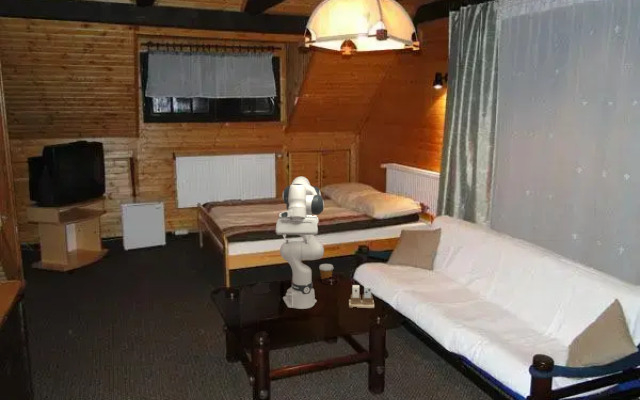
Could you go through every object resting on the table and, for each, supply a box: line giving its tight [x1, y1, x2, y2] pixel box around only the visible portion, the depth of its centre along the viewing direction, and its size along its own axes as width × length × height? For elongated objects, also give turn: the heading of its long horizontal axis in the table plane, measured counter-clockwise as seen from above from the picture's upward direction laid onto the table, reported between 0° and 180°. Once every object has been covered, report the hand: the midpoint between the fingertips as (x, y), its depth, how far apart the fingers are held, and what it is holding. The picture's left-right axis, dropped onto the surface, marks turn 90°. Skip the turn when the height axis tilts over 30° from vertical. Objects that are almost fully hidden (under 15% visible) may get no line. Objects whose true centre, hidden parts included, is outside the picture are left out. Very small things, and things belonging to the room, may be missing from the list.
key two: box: [363, 284, 372, 298], centre depth 317 cm, size 4×4×8 cm
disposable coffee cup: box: [318, 263, 335, 280], centre depth 353 cm, size 10×10×12 cm
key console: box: [348, 293, 375, 309], centre depth 318 cm, size 9×15×5 cm, turn 87°
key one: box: [351, 284, 360, 298], centre depth 317 cm, size 4×4×8 cm
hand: (296, 243), depth 253 cm, fingers open, 8 cm apart
